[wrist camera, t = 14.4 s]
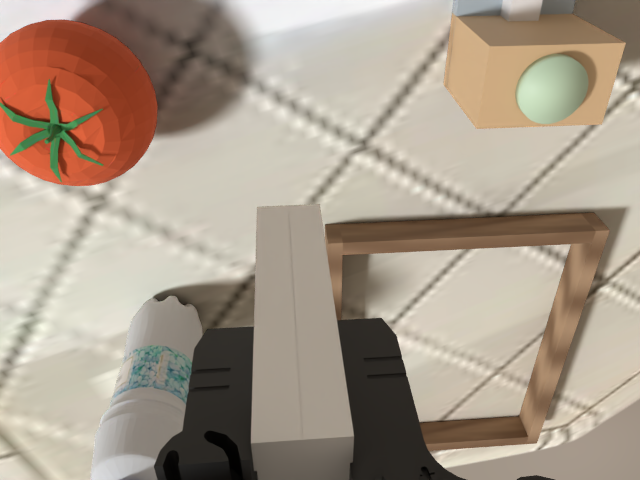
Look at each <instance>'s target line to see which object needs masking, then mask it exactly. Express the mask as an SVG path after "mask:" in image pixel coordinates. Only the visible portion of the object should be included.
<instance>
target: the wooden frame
mask: <svg viewBox="0 0 640 480" xmlns="http://www.w3.org/2000/svg"><path fill="white" fill-rule="evenodd" d="M609 232H610V230H609V229H608V228H607V227H606V225H605V224H604V223H603V222H602V221H601V220H600V219H599V218H598V216H597V215H596V214H595V213H573V214H550V215H528V216H506V217H484V218H462V219H439V220H417V221H395V222H373V223H351V224H328V225H325V244H326V250H327V257H328V264H329V271H330V277H331V284H332V291H333V298H334V304H335V311H336V318H337V320H341V301H342V259H343V255H354V254H374V253H395V252H416V251H436V250H457V249H478V248H498V247H519V246H540V245H560V244H571V246H570V250H569V253H568V256H567V260H566V263H565V266H564V269H563V273H562V276H561V279H560V283H559V286H558V289H557V293H556V296H555V299H554V303H553V306H552V309H551V312H550V316H549V319H548V322H547V326H546V329H545V332H544V336H543V339H542V342H541V346H540V349H539V352H538V355H537V359H536V362H535V365H534V369H533V372H532V375H531V379H530V382H529V385H528V388H527V392H526V395H525V398H524V402H523V405H522V408H521V412H520V415H519V416H515V417H501V418H486V419H471V420H456V421H441V422H426V423H420V427H421V431H422V434H423V438H424V441H425V444H426V446H427V448H428V451H433V450H447V449H462V448H476V447H490V446H504V445H519V444H533V443H537V441H538V438H539V435H540V432H541V429H542V426H543V423H544V421H545V418H546V415H547V412H548V409H549V406H550V403H551V400H552V397H553V394H554V392H555V389H556V386H557V383H558V380H559V377H560V374H561V371H562V368H563V365H564V362H565V360H566V357H567V354H568V351H569V348H570V345H571V342H572V339H573V336H574V333H575V330H576V328H577V325H578V322H579V319H580V316H581V313H582V310H583V307H584V304H585V301H586V299H587V296H588V293H589V290H590V287H591V284H592V281H593V278H594V275H595V272H596V269H597V267H598V264H599V261H600V258H601V255H602V252H603V249H604V246H605V243H606V240H607V237H608V235H609Z"/></svg>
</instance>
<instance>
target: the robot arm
mask: <svg viewBox="0 0 640 480" xmlns="http://www.w3.org/2000/svg"><path fill="white" fill-rule="evenodd" d="M154 469H155V473H156V476H157V480H466V479H463V478H460V477H457V476H456V475H454V474H452V473H451V472H449V471H447V470H446V469H444V468H443V467H442V466H441V465H440V464H439V463H438V462H437V461H436V460H435V459H434V458H433V456H432V455H431V453H430V452H429V451H428V448H427V446H426V444H425V441H424V438H423V434H422V431H421V427H420V423H419V419H418V416H417V412H416V408H415V404H414V400H413V397H412V393H411V389H410V385H409V382H408V378H407V377H406V370H405V367H404V363H403V360H402V355H401V351H400V348H399V344H398V340H397V336H396V334H395V333H394V332H393V331H392V330H391V329H390V327H389V326H388V325H387V324H386V323H385V322H384V320H383V319H382V318H372V319H354V320H337V318H336V311H335V304H334V298H333V291H332V284H331V277H330V271H329V264H328V257H327V250H326V244H325V237H324V230H323V223H322V217H321V210H320V204H313V205H290V206H266V207H257V231H256V268H255V306H254V327H237V328H219V329H207V330H206V332H205V333H204V335H203V336H202V338H201V339H200V341H199V342H198V344H197V345H196V347H195V348H194V353H193V360H192V367H191V374H190V381H189V392H188V395H187V402H186V409H185V415H184V422H183V429H182V432H180V433H178V434H176V435H175V436H173V437H172V438H171V439H170V440H169V441H168V442H167V443H166V444H165V445H164V447H163V448H162V449H161V450H160V452H159V454H158V457H157V459H156V462H155V464H154ZM517 480H554V479H550V478H546V477H541V476H537V475H536V476H527V477H520V478H519V479H517Z"/></svg>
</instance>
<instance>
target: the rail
mask: <svg viewBox="0 0 640 480" xmlns="http://www.w3.org/2000/svg"><path fill="white" fill-rule="evenodd" d="M574 5H575V0H454V3H453V11H452V20H451V28H450V36H449V44H448V52H447V60H446V68H445V77H444V86H445V87H446V88H447V90H448V91H449V92H450V94H451V95H452V96H453V98H454V99H455V100H456V102H457V103H458V105H459V106H460V107H461V109H462V110H463V111H464V113H465V114H466V115H467V117H468V118H469V119H470V121H471V122H472V123H473V125H474V126H475V127H476V129H483V128H512V127H540V126H568V125H597V124H602V122H603V118H604V115H605V112H606V108H607V105H608V102H609V98H610V95H611V91H612V88H613V85H614V81H615V78H616V75H617V71H618V68H619V64H620V61H621V58H622V54H623V51H624V48H625V44H626V43H625V42H623V41H621V40H620V39H618V38H616V37H614V36H612V35H610V34H609V33H607V32H605V31H603V30H601V29H599V28H597V27H596V26H594V25H592V24H590V23H588V22H586V21H585V20H583V19H581V18H579V17H577V16H575V15H574V14H572V13H573V9H574Z"/></svg>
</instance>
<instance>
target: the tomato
mask: <svg viewBox="0 0 640 480" xmlns="http://www.w3.org/2000/svg"><path fill="white" fill-rule="evenodd" d="M156 123H157V101H156V95H155V90H154V88H153V85H152V82H151V80H150V77H149V75H148V74H147V72H146V70H145V69H144V67H143V66H142V64H141V62H140V61H139V59H138V58H137V57H136V56H135V55H134V54H133V53H132V51H131V50H130V49H129V48H128V47H127V46H125V45H124V44H123V43H122V42H120V41H119V40H118V39H117V38H116V37H114V36H112V35H110V34H108V33H107V32H105V31H103V30H101V29H99V28H96V27H93V26H90V25H87V24H85V23H81V22H75V21H69V20H46V21H42V22H38V23H34V24H30V25H28V26H25V27H23V28H21V29H19V30H17V31H15V32H13V33H11V34H10V35H9V36H8V37H7V38H5V39H4V40H3V41H2V42H1V43H0V149H1V150H2V151H3V152H4V153H5V155H6V156H7V157H8V158H10V159H11V160H12V161H13V162H14V163H15V164H16V165H18V166H19V167H21V168H22V169H24V170H25V171H27V172H28V173H30V174H32V175H34V176H36V177H39V178H41V179H43V180H46V181H49V182H53V183H57V184H62V185H71V186H89V185H95V184H100V183H104V182H107V181H109V180H111V179H114V178H116V177H118V176H120V175H122V174H124V173H125V172H126V171H128V170H129V169H131V168H132V167H133V166H134V165H135V164H136V163H137V162H138V161H139V160H140V159H141V157H142V156H143V155H144V154H145V152H146V151H147V149H148V147H149V145H150V143H151V141H152V139H153V136H154V132H155V128H156Z"/></svg>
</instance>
